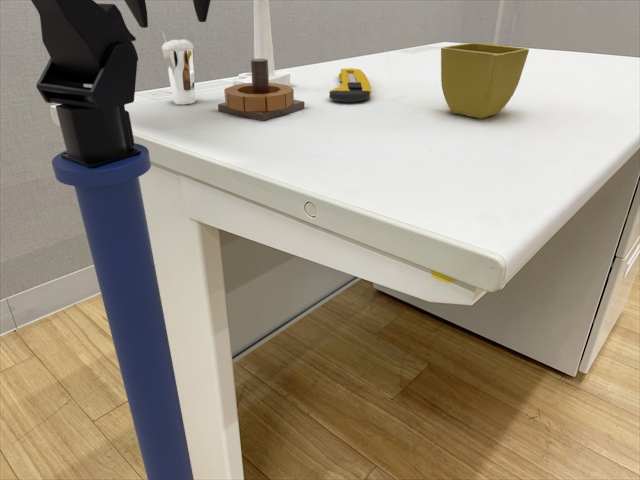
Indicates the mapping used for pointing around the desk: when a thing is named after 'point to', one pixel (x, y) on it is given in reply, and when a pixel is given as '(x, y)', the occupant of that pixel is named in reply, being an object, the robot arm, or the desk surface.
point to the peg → (261, 87)
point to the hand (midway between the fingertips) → (174, 24)
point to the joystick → (263, 46)
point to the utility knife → (351, 86)
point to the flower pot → (480, 77)
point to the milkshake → (180, 69)
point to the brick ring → (259, 98)
